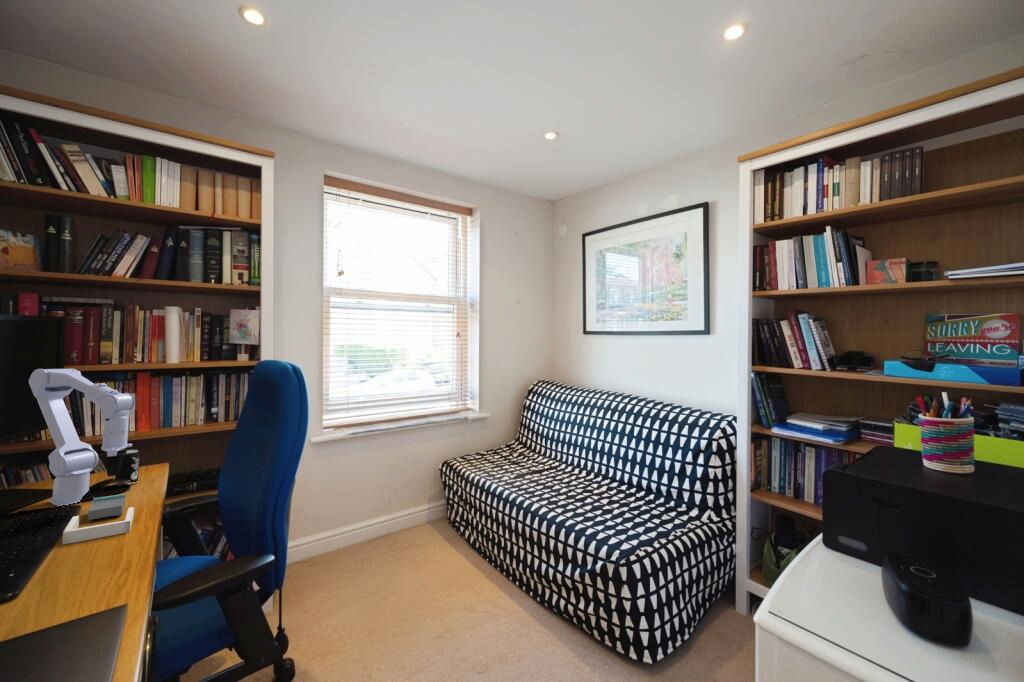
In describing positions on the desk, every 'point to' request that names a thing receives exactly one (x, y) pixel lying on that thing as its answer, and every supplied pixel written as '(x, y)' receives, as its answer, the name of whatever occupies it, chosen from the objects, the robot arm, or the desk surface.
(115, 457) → the robot arm
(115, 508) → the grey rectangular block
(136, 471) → the beverage can
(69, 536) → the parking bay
